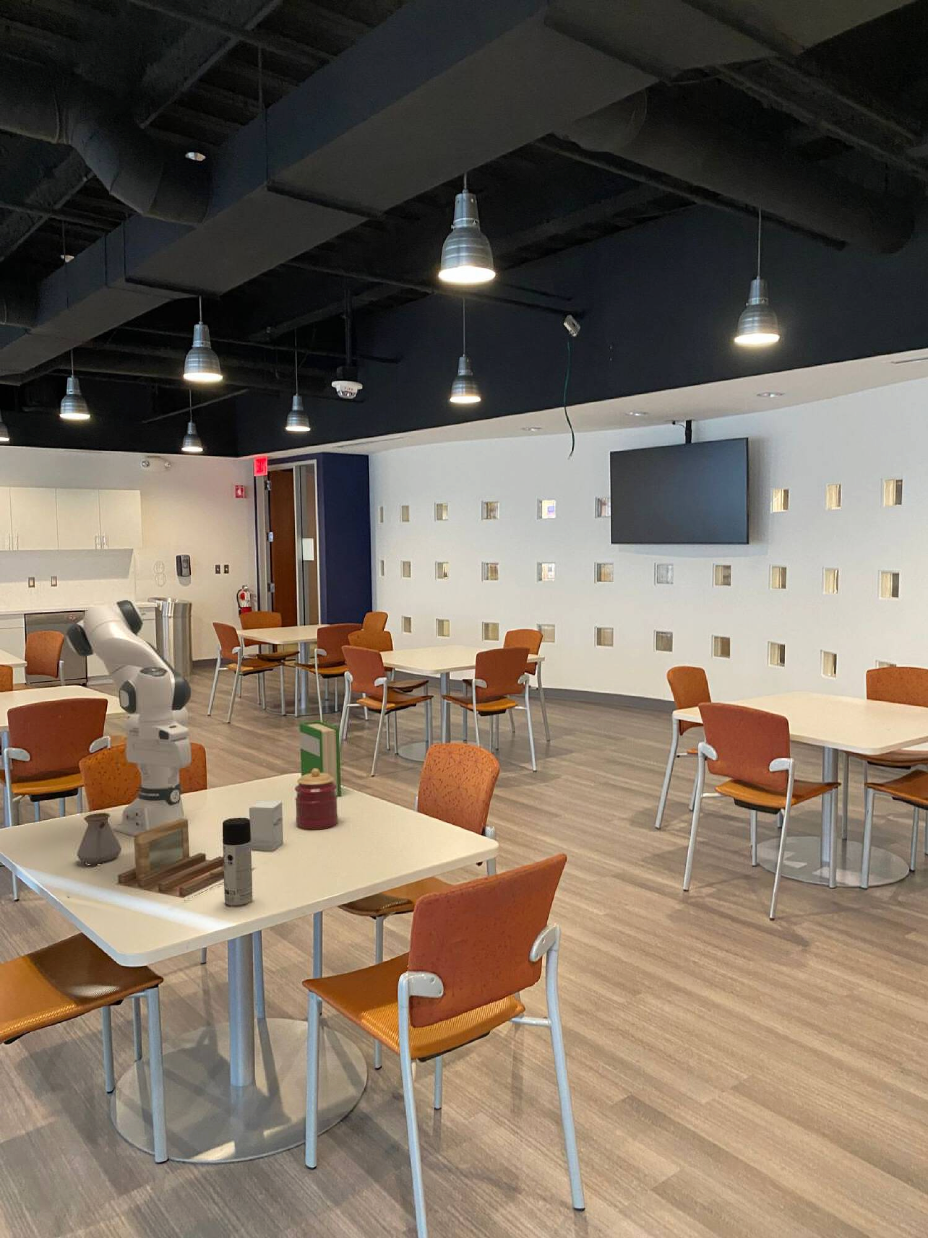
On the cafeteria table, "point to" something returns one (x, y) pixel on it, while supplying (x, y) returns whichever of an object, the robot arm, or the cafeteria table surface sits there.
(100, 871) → the cafeteria table surface
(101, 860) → the coffee pot
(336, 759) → the hardback book
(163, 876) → the slotted rack
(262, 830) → the supplement box
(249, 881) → the spray can
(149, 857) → the wooden picture frame
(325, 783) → the canister
